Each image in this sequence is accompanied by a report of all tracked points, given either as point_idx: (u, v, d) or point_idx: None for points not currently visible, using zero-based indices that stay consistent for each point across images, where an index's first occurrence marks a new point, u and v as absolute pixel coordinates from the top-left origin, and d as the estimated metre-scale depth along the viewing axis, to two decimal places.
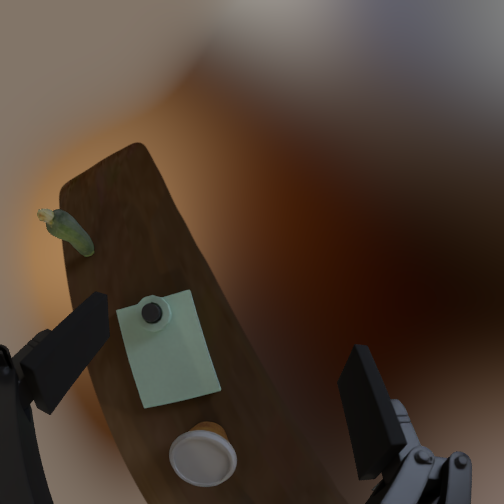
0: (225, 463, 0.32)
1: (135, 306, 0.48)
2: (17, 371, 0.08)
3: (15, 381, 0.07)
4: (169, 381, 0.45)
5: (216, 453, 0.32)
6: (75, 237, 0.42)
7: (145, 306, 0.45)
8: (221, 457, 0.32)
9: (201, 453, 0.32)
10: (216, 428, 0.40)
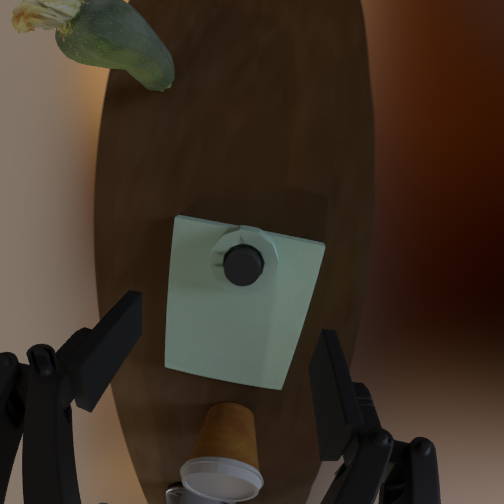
0: (245, 493, 0.25)
1: (214, 227, 0.26)
2: (61, 372, 0.09)
3: (58, 382, 0.08)
4: (219, 355, 0.31)
5: (242, 487, 0.24)
6: (133, 65, 0.14)
7: (238, 256, 0.24)
8: (245, 490, 0.25)
9: (225, 482, 0.24)
10: (251, 435, 0.30)
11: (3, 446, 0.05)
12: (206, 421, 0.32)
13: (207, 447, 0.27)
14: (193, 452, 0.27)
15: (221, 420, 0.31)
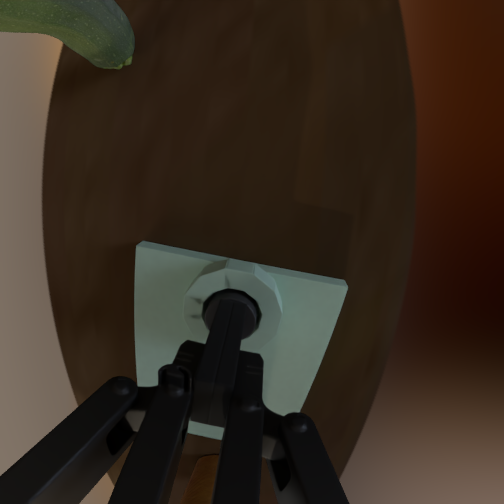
0: None
1: (190, 260, 0.18)
2: (191, 395, 0.10)
3: (186, 407, 0.09)
4: None
5: None
6: (49, 22, 0.06)
7: None
8: None
9: None
10: None
11: (89, 471, 0.06)
12: (193, 476, 0.24)
13: None
14: None
15: (210, 478, 0.23)
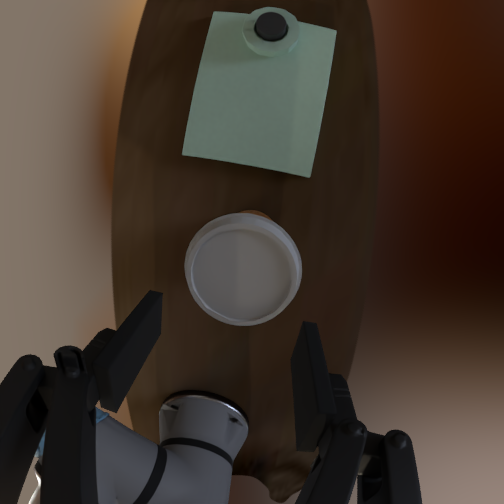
0: (276, 296, 0.23)
1: (246, 15, 0.25)
2: (89, 374, 0.09)
3: (85, 385, 0.08)
4: (243, 128, 0.29)
5: (273, 272, 0.23)
6: None
7: (268, 13, 0.22)
8: (277, 283, 0.23)
9: (249, 261, 0.22)
10: None
11: (21, 449, 0.06)
12: None
13: None
14: None
15: (242, 212, 0.29)
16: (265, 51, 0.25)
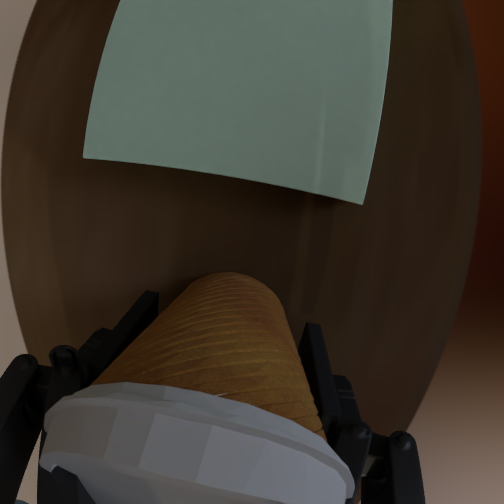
0: None
1: None
2: (84, 374, 0.09)
3: (80, 385, 0.08)
4: (208, 89, 0.12)
5: None
6: None
7: None
8: None
9: None
10: (291, 342, 0.11)
11: (17, 448, 0.05)
12: None
13: (136, 356, 0.08)
14: None
15: (201, 296, 0.12)
16: None
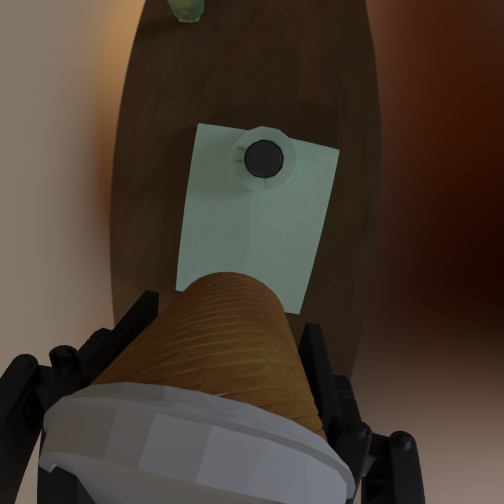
0: None
1: (236, 131, 0.27)
2: (84, 374, 0.09)
3: (80, 385, 0.08)
4: (235, 270, 0.31)
5: None
6: None
7: (260, 145, 0.24)
8: None
9: None
10: (291, 342, 0.11)
11: (18, 449, 0.05)
12: None
13: (136, 356, 0.07)
14: None
15: (201, 296, 0.12)
16: (257, 190, 0.27)
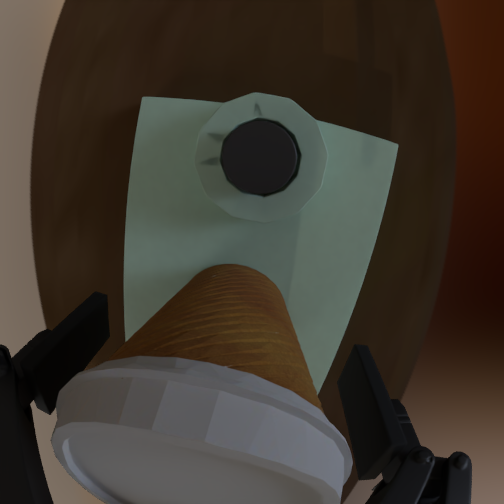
0: None
1: (208, 106, 0.14)
2: (17, 371, 0.08)
3: (15, 381, 0.07)
4: None
5: (275, 502, 0.06)
6: None
7: (252, 127, 0.11)
8: None
9: (205, 487, 0.06)
10: (291, 328, 0.12)
11: None
12: None
13: (147, 337, 0.08)
14: None
15: (206, 284, 0.13)
16: None
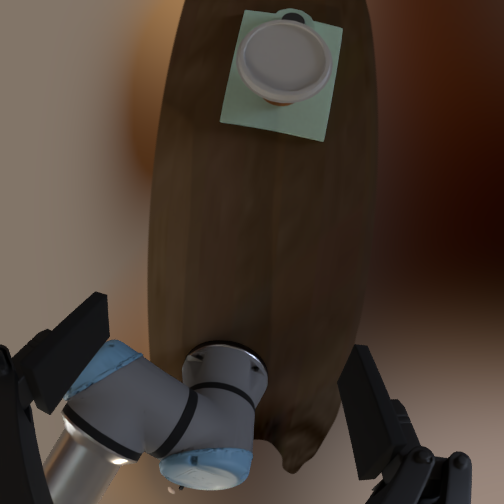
0: (314, 72, 0.23)
1: (271, 14, 0.31)
2: (17, 371, 0.08)
3: (15, 381, 0.07)
4: None
5: (311, 54, 0.23)
6: None
7: (290, 13, 0.28)
8: (314, 62, 0.23)
9: (291, 45, 0.23)
10: None
11: None
12: None
13: None
14: None
15: None
16: None
